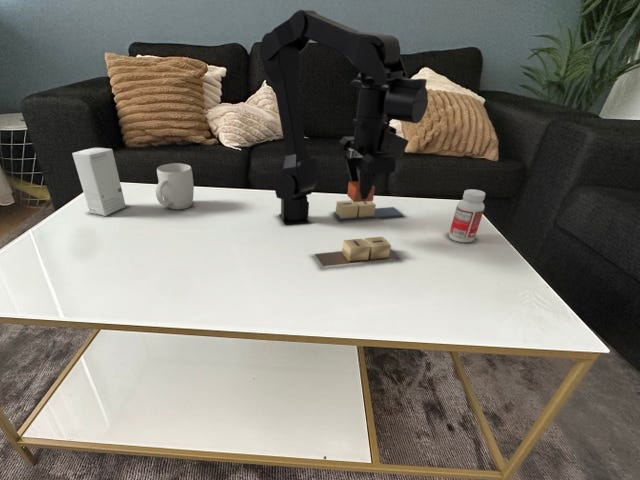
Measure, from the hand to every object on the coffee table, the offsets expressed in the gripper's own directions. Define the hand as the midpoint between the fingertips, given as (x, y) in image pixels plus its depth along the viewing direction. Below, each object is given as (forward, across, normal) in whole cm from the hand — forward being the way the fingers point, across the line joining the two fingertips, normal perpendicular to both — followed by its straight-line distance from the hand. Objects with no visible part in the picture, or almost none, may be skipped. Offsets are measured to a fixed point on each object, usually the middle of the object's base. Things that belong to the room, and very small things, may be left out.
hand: (360, 195), depth 91 cm
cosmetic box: (+11, +32, +60) cm, 69 cm away
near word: (+11, -9, +3) cm, 14 cm away
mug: (+11, +30, +42) cm, 53 cm away
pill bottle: (+11, -3, -27) cm, 30 cm away
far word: (+11, +16, -10) cm, 21 cm away
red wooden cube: (+1, 0, 0) cm, 1 cm away
